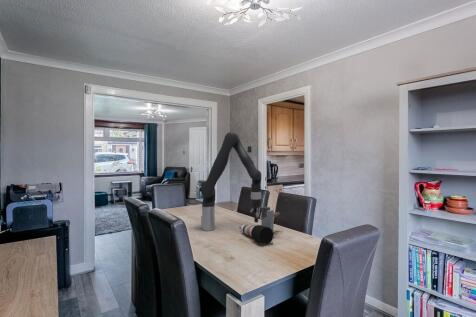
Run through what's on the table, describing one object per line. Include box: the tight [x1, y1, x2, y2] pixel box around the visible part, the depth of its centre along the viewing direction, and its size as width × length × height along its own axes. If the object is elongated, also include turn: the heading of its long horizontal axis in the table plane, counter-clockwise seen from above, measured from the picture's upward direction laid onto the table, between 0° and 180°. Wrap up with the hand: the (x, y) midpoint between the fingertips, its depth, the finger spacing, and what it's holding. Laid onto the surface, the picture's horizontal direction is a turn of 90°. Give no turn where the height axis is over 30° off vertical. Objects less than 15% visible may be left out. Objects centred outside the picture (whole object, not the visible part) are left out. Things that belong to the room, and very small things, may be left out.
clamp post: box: [260, 209, 275, 238], centre depth 173 cm, size 7×4×18 cm, turn 51°
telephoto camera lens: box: [239, 224, 274, 245], centre depth 172 cm, size 10×34×10 cm, turn 24°
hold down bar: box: [261, 206, 281, 220], centre depth 179 cm, size 4×17×8 cm, turn 140°
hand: (256, 222), depth 185 cm, fingers closed
